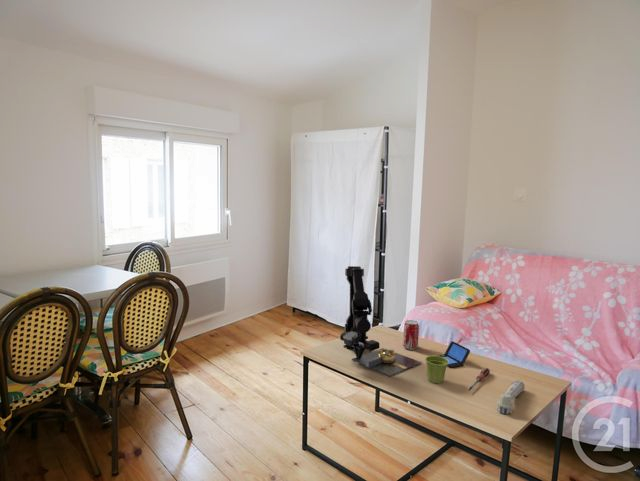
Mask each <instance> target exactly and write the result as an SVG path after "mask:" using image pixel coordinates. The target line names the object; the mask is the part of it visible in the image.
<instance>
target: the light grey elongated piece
mask: <svg viewBox="0 0 640 481" xmlns="http://www.w3.org/2000/svg"><path fill="white" fill-rule="evenodd" d="M524 389H525V383H524V382H523V381H522V380H515V381H514V382H512V383H511V385H510V387H508V389H507V390H506V392H505V393H501V394H500V397H499V400H497V401H496V405H497V411H498V412H499V413H501V414H504V415H508V414H512V412H513V408H514V403H512V401H513V400H514V399H515V398H516V397H517V396H518V395H520V394H521V393H523V392H524Z"/></svg>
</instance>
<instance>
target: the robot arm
mask: <svg viewBox="0 0 640 481" xmlns="http://www.w3.org/2000/svg"><path fill="white" fill-rule="evenodd" d="M344 272H345V273H344V274H345V276H346V281H347V283H348V284H349V315H348V316H347V318H346V320H345V323H344V328H343V332H341V334H340V340H341V341H343V344H344V345H343V347H344V348H346V349H348V350H351V351H354V353H355V356H356V357H357V359H358V360H360V359H361V357H362V355H364V352H365V351H366V350H367V351H369V352H373V351H376V350H379V349H380V342H379V341H377V340H374V339H371V340H368V339H369V336H367V333H368V332H369V331H370V329H371V325H372V324H371V322H370V321H369V318H368V316H371V315H372V312H373V308H372V302H371V299H370V298H369V295H368V293H366V292H365V287H364V286H365V285H364V281H363V280H364V279H363V277H365V269H364V268H362V267H361V266H354V265H353V266H350V265H349V266H347V268H345V271H344ZM356 357H355V358H356Z"/></svg>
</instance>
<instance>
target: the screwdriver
mask: <svg viewBox="0 0 640 481" xmlns="http://www.w3.org/2000/svg"><path fill="white" fill-rule="evenodd" d="M490 373H491V371H490V369H489V368H484V369H482V370H481V371H480V372H479V374H478V375H477V376H476V379H475V382H474V383H473V384H471V385H470V387H469V388H468V389H467V391H471V390H472V389H473V388H474V387H476V385H477V384H478V383H482V382H483V380H485V379H486V378H487V377H488V376H489V375H490Z"/></svg>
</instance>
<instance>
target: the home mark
mask: <svg viewBox="0 0 640 481" xmlns="http://www.w3.org/2000/svg"><path fill="white" fill-rule="evenodd" d="M393 365H396V366H398V367H401V368H403V369H405V368H407V367H405V366H402V365H400V364H397V363H394V364H393Z"/></svg>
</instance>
